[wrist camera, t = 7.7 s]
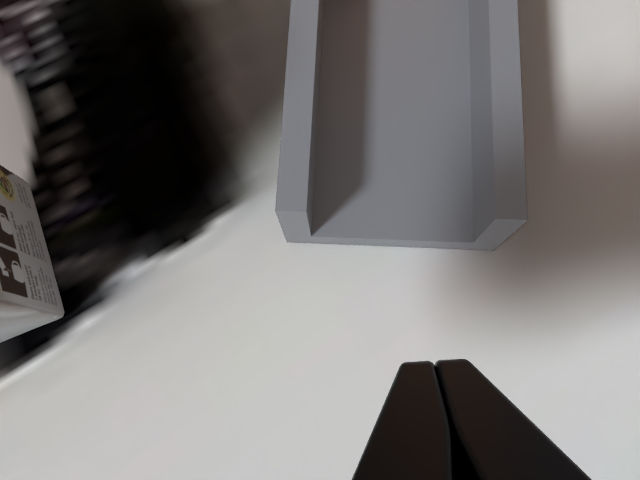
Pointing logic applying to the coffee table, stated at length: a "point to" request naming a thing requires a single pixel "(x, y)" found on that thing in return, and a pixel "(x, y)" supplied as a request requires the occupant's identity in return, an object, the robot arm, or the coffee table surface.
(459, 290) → the coffee table surface
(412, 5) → the charcoal chute
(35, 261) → the coffee box
